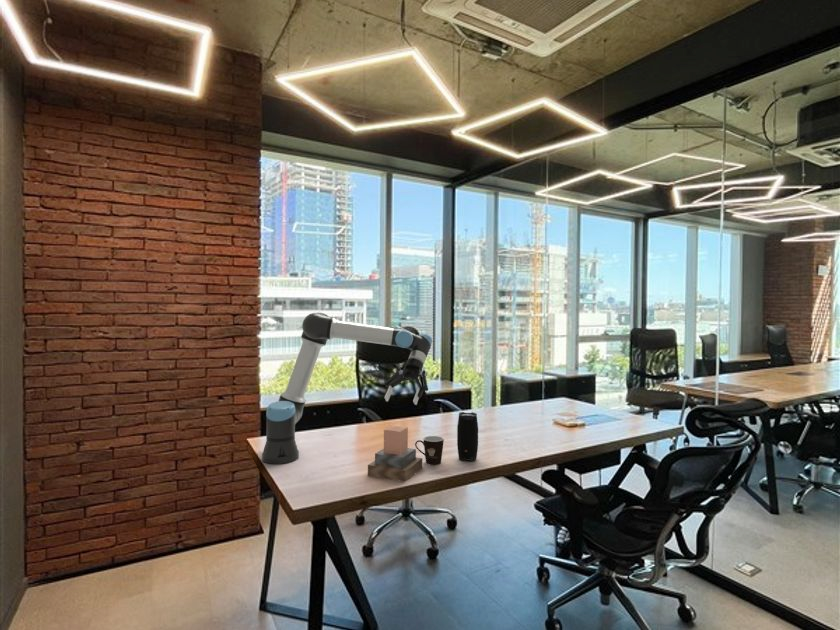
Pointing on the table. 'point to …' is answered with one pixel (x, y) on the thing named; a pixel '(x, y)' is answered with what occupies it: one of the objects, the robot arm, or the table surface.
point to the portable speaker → (467, 436)
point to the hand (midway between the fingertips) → (400, 401)
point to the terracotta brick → (395, 440)
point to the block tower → (395, 465)
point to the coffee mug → (432, 449)
